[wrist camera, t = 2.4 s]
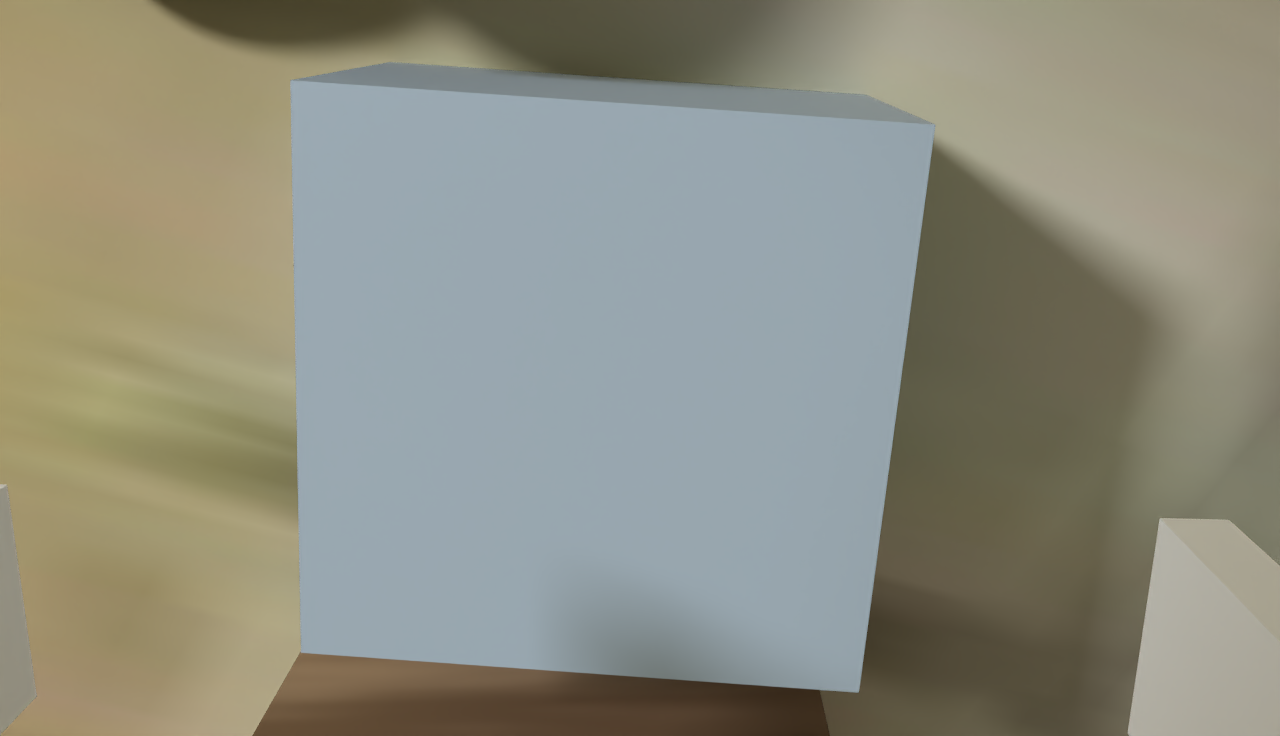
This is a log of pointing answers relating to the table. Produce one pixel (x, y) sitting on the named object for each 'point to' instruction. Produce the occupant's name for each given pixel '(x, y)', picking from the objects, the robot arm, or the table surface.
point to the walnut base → (522, 703)
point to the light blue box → (597, 369)
